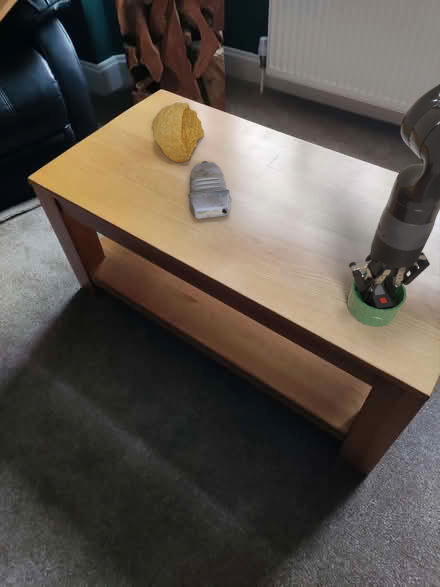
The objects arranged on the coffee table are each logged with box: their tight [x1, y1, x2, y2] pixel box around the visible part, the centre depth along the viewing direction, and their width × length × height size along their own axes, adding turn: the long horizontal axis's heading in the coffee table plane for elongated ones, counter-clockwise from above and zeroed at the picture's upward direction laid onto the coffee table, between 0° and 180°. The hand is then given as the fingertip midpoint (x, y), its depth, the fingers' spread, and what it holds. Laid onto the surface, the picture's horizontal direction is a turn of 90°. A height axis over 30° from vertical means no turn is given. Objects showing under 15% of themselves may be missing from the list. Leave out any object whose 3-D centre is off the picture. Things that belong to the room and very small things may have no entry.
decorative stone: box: [151, 102, 205, 163], centre depth 112 cm, size 13×15×15 cm
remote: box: [363, 278, 394, 309], centre depth 79 cm, size 7×3×3 cm, turn 8°
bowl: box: [346, 270, 407, 328], centre depth 79 cm, size 9×9×5 cm
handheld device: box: [188, 160, 232, 220], centre depth 101 cm, size 10×20×5 cm, turn 6°
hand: (375, 297), depth 79 cm, fingers closed on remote, 3 cm apart
